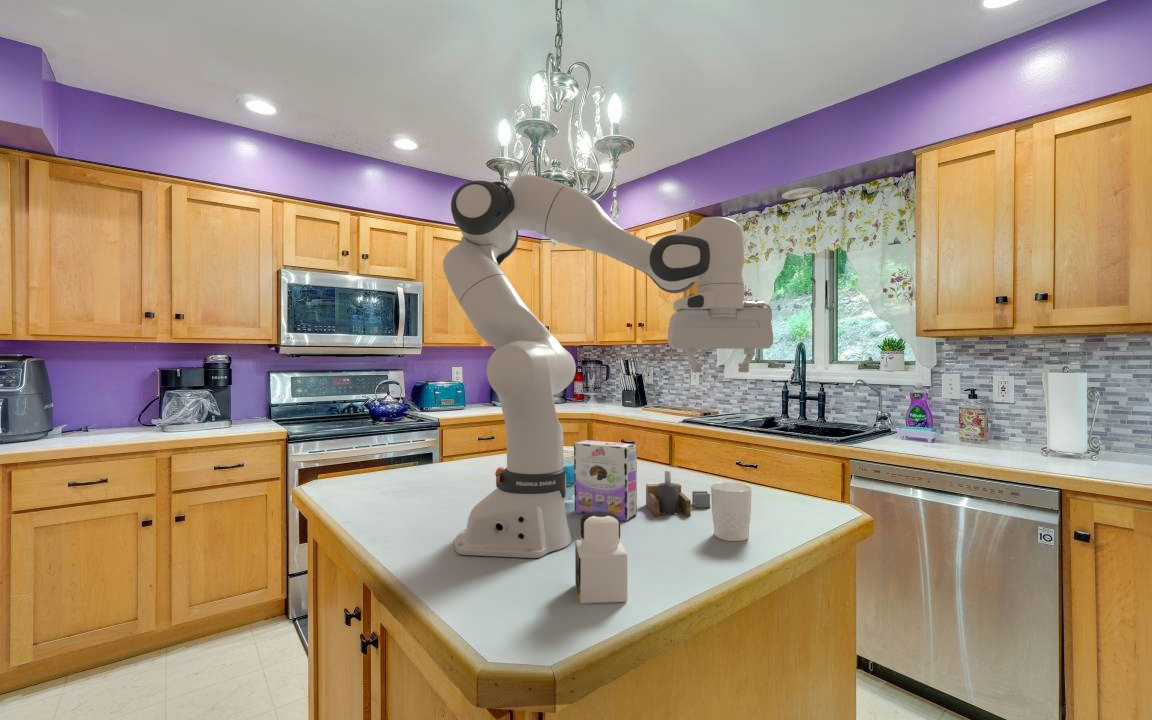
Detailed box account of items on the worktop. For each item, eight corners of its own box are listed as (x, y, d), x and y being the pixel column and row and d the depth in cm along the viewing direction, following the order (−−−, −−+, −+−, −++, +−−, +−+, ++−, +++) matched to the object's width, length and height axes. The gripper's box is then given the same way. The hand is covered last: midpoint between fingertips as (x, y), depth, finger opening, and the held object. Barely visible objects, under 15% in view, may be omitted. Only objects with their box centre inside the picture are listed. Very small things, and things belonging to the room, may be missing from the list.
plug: (660, 514, 122) (660, 473, 122) (656, 509, 127) (656, 469, 127) (680, 514, 123) (680, 473, 123) (675, 508, 127) (675, 469, 127)
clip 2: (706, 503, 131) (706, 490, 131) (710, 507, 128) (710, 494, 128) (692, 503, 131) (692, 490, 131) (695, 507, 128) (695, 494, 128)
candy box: (638, 515, 121) (638, 443, 121) (626, 522, 117) (626, 447, 116) (586, 506, 129) (586, 438, 129) (573, 512, 124) (573, 441, 124)
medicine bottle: (575, 584, 85) (575, 508, 85) (619, 582, 85) (619, 507, 85) (579, 604, 78) (579, 522, 78) (627, 602, 78) (627, 521, 78)
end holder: (655, 516, 121) (654, 494, 120) (645, 504, 130) (645, 484, 130) (690, 516, 121) (690, 493, 121) (678, 504, 131) (678, 483, 131)
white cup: (754, 544, 103) (754, 492, 103) (711, 541, 104) (711, 490, 104) (749, 531, 111) (749, 482, 111) (710, 528, 112) (710, 481, 112)
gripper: (765, 303, 108) (764, 371, 108) (665, 302, 107) (665, 371, 107) (779, 300, 102) (779, 372, 102) (673, 299, 100) (673, 372, 100)
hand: (720, 372), depth 104 cm, fingers open, 8 cm apart
